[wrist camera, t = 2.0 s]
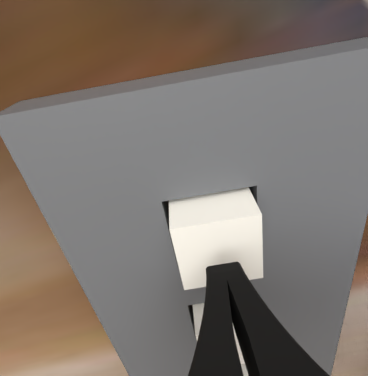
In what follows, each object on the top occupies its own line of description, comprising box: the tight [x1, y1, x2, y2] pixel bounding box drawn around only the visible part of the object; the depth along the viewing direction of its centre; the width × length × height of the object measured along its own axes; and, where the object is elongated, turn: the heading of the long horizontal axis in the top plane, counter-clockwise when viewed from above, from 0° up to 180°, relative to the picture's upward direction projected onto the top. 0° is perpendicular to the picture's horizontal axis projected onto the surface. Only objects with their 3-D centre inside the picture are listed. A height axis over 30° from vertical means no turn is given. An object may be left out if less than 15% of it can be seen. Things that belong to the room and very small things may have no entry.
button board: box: [0, 37, 368, 376], centre depth 20 cm, size 16×31×2 cm, turn 9°
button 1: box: [169, 187, 263, 290], centre depth 14 cm, size 4×4×2 cm
